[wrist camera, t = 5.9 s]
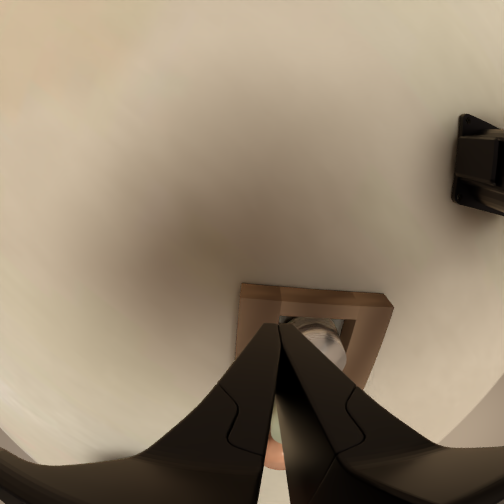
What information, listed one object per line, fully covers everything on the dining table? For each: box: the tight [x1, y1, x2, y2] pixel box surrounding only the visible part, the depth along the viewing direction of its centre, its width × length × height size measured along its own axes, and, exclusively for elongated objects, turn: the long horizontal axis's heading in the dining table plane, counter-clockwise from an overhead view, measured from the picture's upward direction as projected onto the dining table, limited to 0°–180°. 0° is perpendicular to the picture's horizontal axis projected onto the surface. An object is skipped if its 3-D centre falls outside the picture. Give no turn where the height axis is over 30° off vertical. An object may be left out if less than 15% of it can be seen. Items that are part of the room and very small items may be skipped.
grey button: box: [287, 317, 346, 371], centre depth 19 cm, size 4×4×3 cm
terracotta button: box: [264, 432, 286, 470], centre depth 23 cm, size 4×4×3 cm
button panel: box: [235, 283, 394, 432], centre depth 22 cm, size 10×19×2 cm, turn 175°
